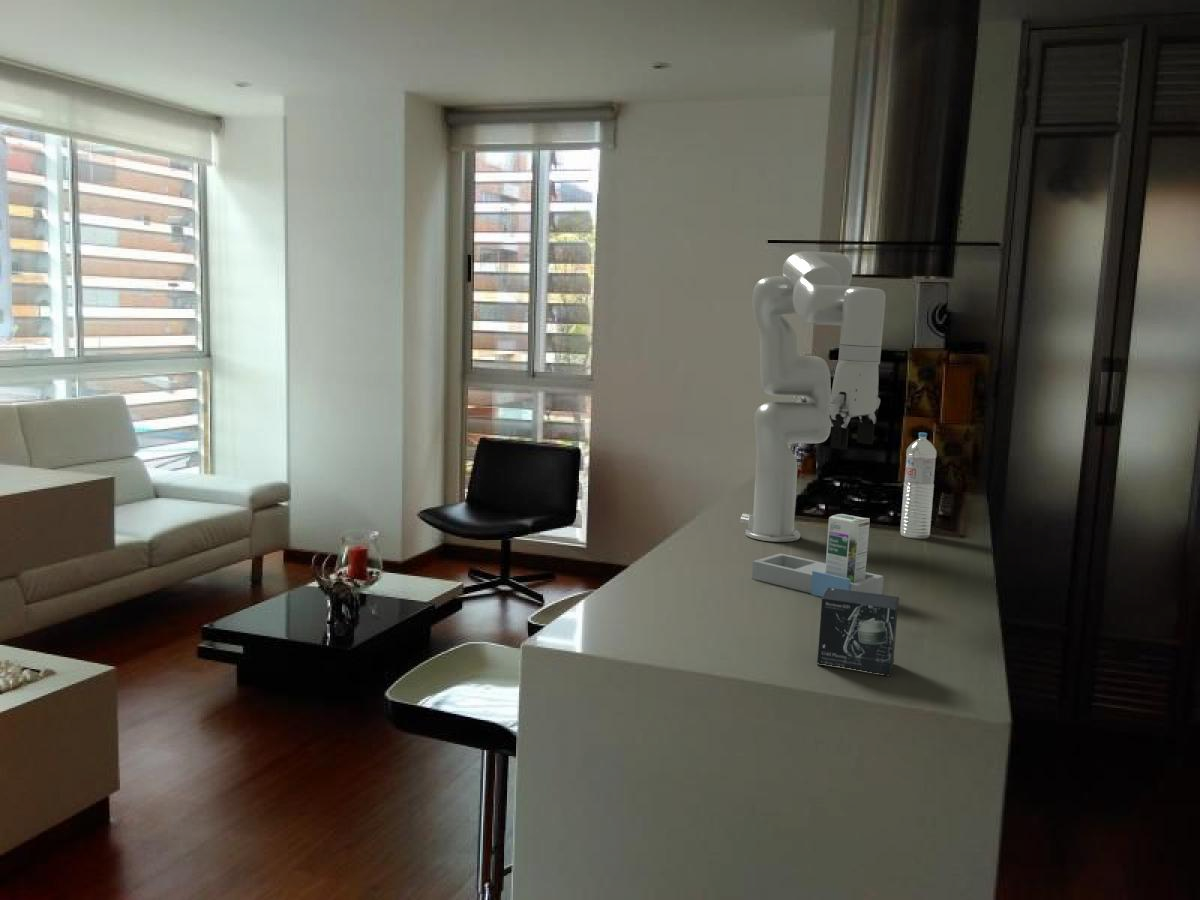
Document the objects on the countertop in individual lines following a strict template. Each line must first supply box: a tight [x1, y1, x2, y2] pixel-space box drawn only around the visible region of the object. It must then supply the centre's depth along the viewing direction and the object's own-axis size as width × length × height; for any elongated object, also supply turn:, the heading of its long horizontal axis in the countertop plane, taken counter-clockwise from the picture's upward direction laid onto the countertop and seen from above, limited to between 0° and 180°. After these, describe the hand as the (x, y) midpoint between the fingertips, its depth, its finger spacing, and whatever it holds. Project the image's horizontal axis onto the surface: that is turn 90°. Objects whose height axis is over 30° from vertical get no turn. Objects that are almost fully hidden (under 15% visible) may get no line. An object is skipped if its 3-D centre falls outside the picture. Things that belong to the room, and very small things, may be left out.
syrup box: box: [825, 513, 870, 583], centre depth 178 cm, size 6×6×14 cm
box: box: [816, 588, 900, 676], centre depth 141 cm, size 11×7×10 cm, turn 69°
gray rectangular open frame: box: [751, 553, 884, 598], centre depth 183 cm, size 22×10×4 cm, turn 47°
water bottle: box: [899, 432, 938, 540], centre depth 228 cm, size 7×7×25 cm
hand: (851, 445), depth 181 cm, fingers open, 9 cm apart
